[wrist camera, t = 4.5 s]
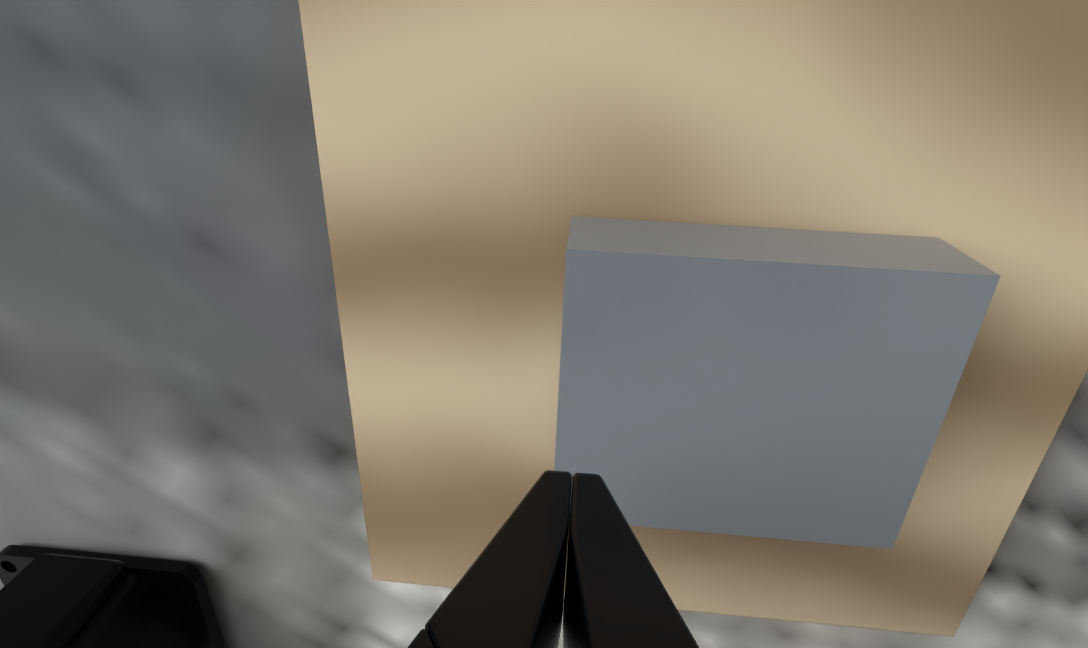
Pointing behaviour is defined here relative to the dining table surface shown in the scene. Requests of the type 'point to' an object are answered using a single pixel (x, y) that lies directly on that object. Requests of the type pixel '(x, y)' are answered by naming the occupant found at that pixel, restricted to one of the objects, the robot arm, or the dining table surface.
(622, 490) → the block
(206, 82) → the dining table surface
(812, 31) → the board
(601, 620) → the robot arm
